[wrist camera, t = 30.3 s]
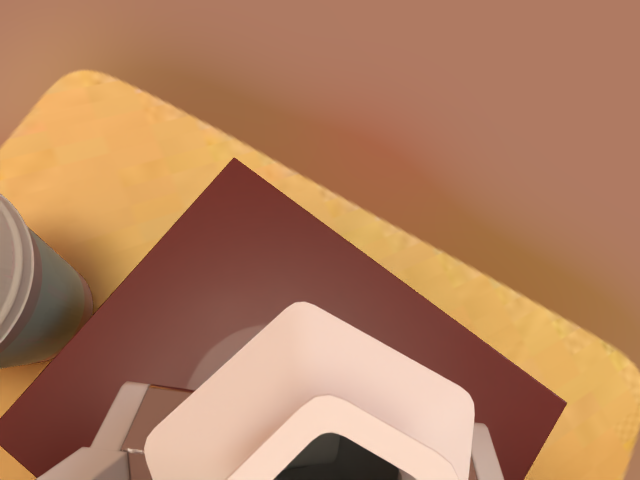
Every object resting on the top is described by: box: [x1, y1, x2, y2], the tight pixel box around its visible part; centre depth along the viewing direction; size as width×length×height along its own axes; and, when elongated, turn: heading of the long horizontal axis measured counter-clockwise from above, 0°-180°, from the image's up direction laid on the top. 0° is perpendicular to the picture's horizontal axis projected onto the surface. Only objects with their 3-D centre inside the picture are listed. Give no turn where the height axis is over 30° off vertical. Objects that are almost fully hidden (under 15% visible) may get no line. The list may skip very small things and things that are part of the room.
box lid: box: [0, 158, 567, 480], centre depth 19 cm, size 16×14×1 cm
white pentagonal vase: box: [144, 302, 475, 480], centre depth 11 cm, size 5×4×15 cm
